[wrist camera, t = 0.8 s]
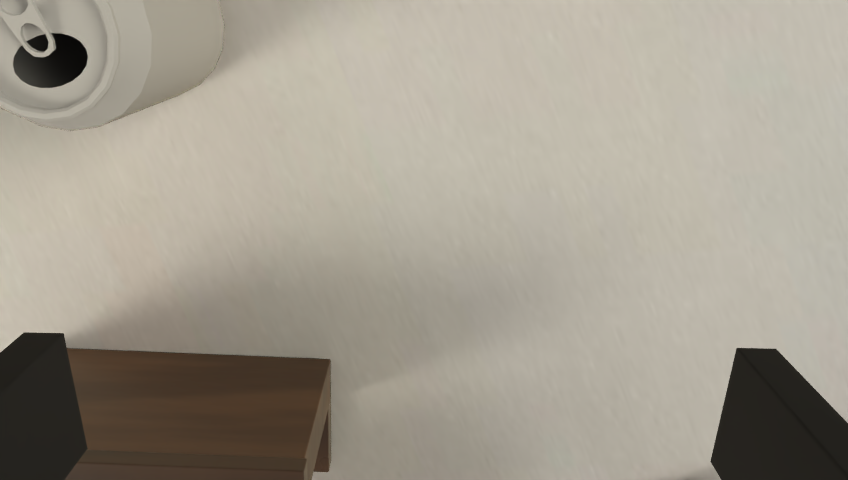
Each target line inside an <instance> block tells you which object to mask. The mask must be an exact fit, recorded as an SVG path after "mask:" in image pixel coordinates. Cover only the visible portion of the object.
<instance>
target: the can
mask: <svg viewBox="0 0 848 480" xmlns="http://www.w3.org/2000/svg"><path fill="white" fill-rule="evenodd" d="M223 40H224V20H223V16H222V12H221V8H220V4H219V0H0V108H2V109H4V110H6V111H9V112H11V113H13V114H15V115H17V116H19V117H22V118H25V119H27V120H29V121H31V122H33V123H35V124H37V125H39V126H44V127H50V128H55V129H61V130H67V131H74V130H81V129H88V128H94V127H100V126H102V125H105V124H107V123H110V122H112V121H115V120H117V119H120V118H122V117H125V116H127V115H130V114H132V113H135V112H138V111H140V110H143V109H145V108H148V107H150V106H153V105H155V104H158V103H160V102H163V101H165V100H168V99H170V98H173V97H175V96H178V95H181V94H183V93H185V92H187V91H189V90H190V89H192V88H194V87H196V86H198V85H200V84H201V83H202V82H203V81H204V80H205V79H206V78H207V76H208V75H209V74H210V73H211V72H212V71H213V70H214V69H215V66H216V64H217V61H218V59H219V57H220V54H221V52H222V49H223Z"/></svg>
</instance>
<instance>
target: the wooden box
mask: <svg viewBox="0 0 848 480" xmlns="http://www.w3.org/2000/svg"><path fill="white" fill-rule="evenodd" d="M67 352H68V357H69V362H70V367H71V372H72V376H73V381H74V386H75V391H76V395H77V400H78V405H79V410H80V414H81V419H82V424H83V429H84V434H85V438H86V443H87V448H88V449H87V450H86V451H85V453H84V454H83V455H82V457H81V458H80V459H79V461H78V462H77V463H76V465H75V466H74V468H73V469H72V470H71V472H70V473H69V474H68V476H67V477H66V478H65V480H311V479H312V475H313V472H329V468H330V463H331V361H330V359H309V358H285V357H261V356H237V355H213V354H189V353H165V352H141V351H117V350H93V349H69V348H67Z"/></svg>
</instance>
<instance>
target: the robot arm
mask: <svg viewBox="0 0 848 480" xmlns="http://www.w3.org/2000/svg"><path fill="white" fill-rule="evenodd" d="M87 449H88V448H87V443H86V438H85V434H84V429H83V424H82V419H81V414H80V410H79V405H78V400H77V395H76V391H75V386H74V381H73V376H72V372H71V367H70V362H69V357H68V352H67V348H66V343H65V338H64V333H23V334H22V335H21V336H20V337H18V338H17V339H16V340H15V341H14V342H12V343H11V344H10V345H9V346H8V347H7V348H5V349H4V350H3V351H2V352H1V353H0V480H65V478H66V477H67V476H68V474H69V473H70V472H71V470H72V469H73V468H74V466H75V465H76V463H77V462H78V461H79V459H80V458H81V457H82V455H83V454H84V453H85V451H86V450H87ZM711 463H712V465H713V466H714V468H715V470H716V471H717V473H718V475H719V476H720V478H721V480H848V423H847V422H846V421H845V420H844V419H843V418H842V417H841V416H840V415H839V414H838V413H837V412H836V411H835V410H834V409H833V408H832V407H831V405H830V404H829V403H828V402H827V401H826V400H825V399H824V398H823V397H822V396H821V395H820V394H819V393H818V392H817V391H816V390H815V389H814V388H813V387H812V386H811V385H810V384H809V383H808V382H807V381H806V380H805V379H804V378H803V376H802V375H801V374H800V373H799V372H798V371H797V370H796V369H795V368H794V367H793V366H792V365H791V364H790V363H789V362H788V361H787V360H786V359H785V358H784V357H783V356H782V355H781V354H780V353H779V352H778V351H777V350H776V349H757V348H737V349H736V354H735V358H734V362H733V367H732V371H731V375H730V380H729V384H728V388H727V393H726V397H725V401H724V406H723V410H722V414H721V419H720V423H719V427H718V432H717V436H716V440H715V445H714V449H713V453H712V458H711Z"/></svg>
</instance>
